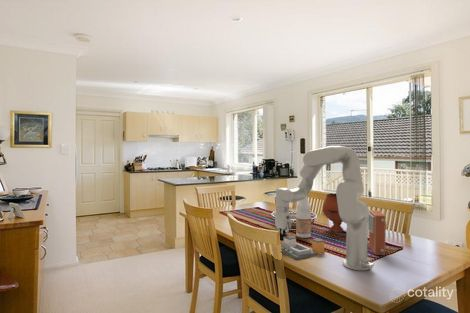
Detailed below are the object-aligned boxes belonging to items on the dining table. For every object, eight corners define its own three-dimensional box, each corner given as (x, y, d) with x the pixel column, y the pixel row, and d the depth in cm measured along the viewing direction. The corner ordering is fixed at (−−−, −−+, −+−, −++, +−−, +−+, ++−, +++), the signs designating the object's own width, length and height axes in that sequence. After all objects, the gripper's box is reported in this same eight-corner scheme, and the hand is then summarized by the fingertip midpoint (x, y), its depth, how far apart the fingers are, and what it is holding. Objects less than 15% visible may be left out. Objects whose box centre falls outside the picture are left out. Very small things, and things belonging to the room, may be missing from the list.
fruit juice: (293, 235, 197) (293, 192, 196) (303, 233, 202) (303, 191, 201) (303, 239, 189) (303, 194, 188) (314, 236, 194) (314, 193, 193)
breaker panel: (315, 255, 161) (315, 248, 161) (296, 259, 155) (296, 253, 155) (289, 243, 180) (289, 237, 180) (272, 247, 174) (272, 241, 174)
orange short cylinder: (324, 252, 165) (324, 240, 165) (318, 254, 163) (318, 241, 162) (318, 250, 169) (318, 238, 169) (312, 251, 167) (312, 239, 166)
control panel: (379, 246, 174) (387, 256, 160) (366, 246, 176) (373, 255, 161) (380, 210, 173) (387, 216, 159) (367, 209, 175) (373, 215, 160)
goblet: (354, 229, 212) (354, 193, 211) (348, 235, 195) (348, 197, 194) (326, 225, 222) (326, 191, 221) (319, 231, 205) (319, 195, 205)
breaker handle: (295, 246, 169) (295, 237, 169) (289, 248, 167) (289, 238, 167) (290, 244, 174) (290, 235, 173) (283, 245, 171) (283, 236, 171)
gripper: (295, 210, 171) (295, 242, 171) (280, 206, 184) (280, 235, 184) (285, 212, 167) (285, 244, 168) (269, 207, 180) (269, 237, 181)
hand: (282, 240), depth 176 cm, fingers closed
